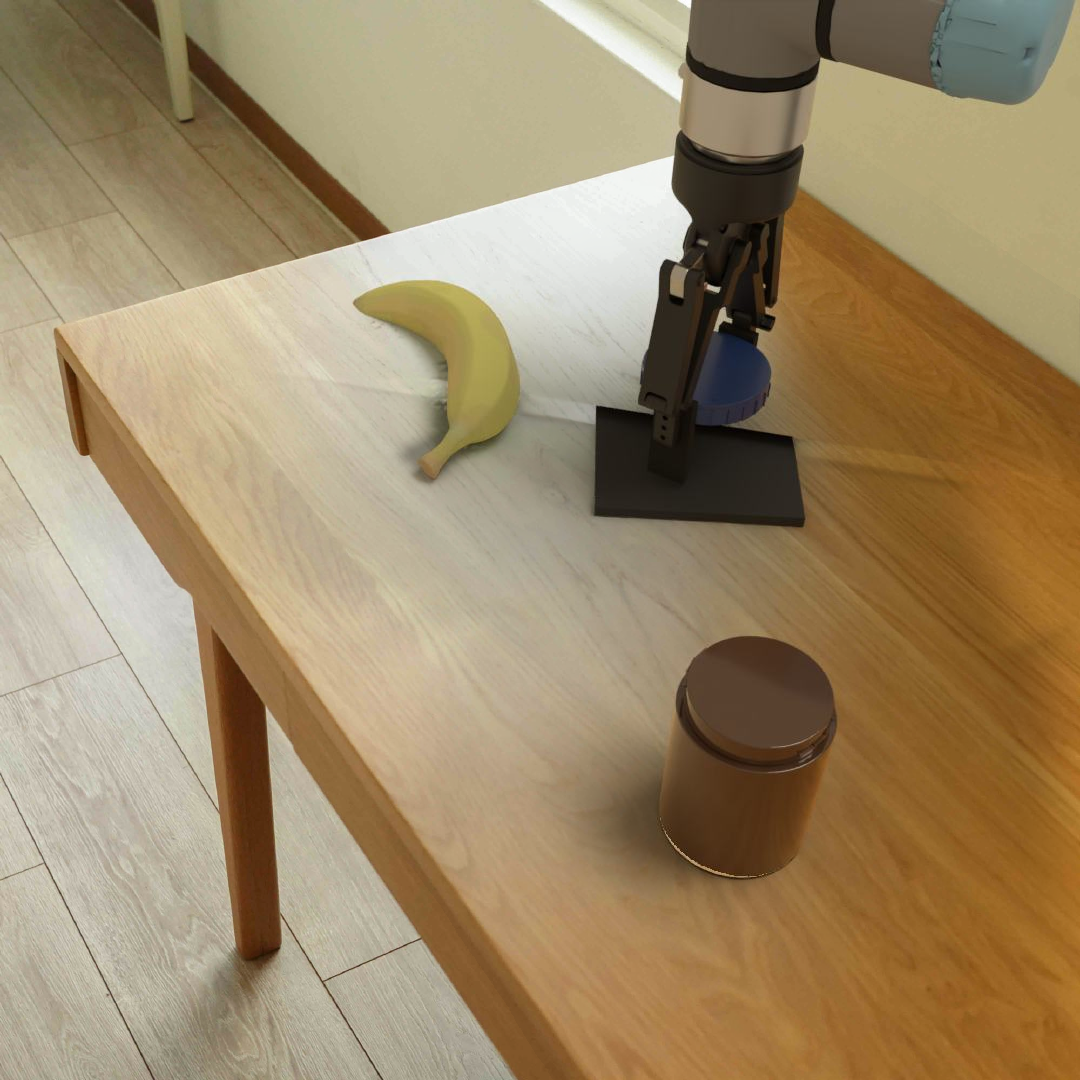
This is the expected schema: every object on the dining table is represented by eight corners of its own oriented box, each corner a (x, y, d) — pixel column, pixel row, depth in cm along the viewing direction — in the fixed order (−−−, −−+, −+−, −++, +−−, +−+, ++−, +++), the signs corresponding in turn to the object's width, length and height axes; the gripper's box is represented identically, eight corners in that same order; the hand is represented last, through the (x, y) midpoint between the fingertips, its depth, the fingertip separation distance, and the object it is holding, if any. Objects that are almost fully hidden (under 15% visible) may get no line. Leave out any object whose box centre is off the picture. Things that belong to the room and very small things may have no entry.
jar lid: (622, 406, 89) (623, 385, 88) (663, 338, 95) (665, 317, 94) (748, 439, 87) (752, 418, 86) (782, 368, 93) (786, 347, 92)
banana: (515, 244, 101) (498, 435, 88) (533, 300, 105) (518, 491, 92) (344, 272, 104) (302, 462, 91) (367, 326, 108) (331, 515, 95)
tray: (784, 399, 100) (785, 391, 100) (803, 526, 90) (805, 518, 89) (596, 390, 100) (596, 381, 100) (594, 515, 90) (595, 507, 90)
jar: (811, 771, 75) (847, 645, 68) (801, 893, 69) (838, 769, 62) (669, 744, 76) (689, 617, 69) (647, 862, 70) (667, 736, 63)
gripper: (759, 57, 87) (717, 348, 102) (594, 191, 73) (574, 503, 89) (868, 86, 84) (808, 381, 99) (718, 231, 71) (675, 546, 86)
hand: (698, 438), depth 94 cm, fingers closed on jar lid, 9 cm apart
